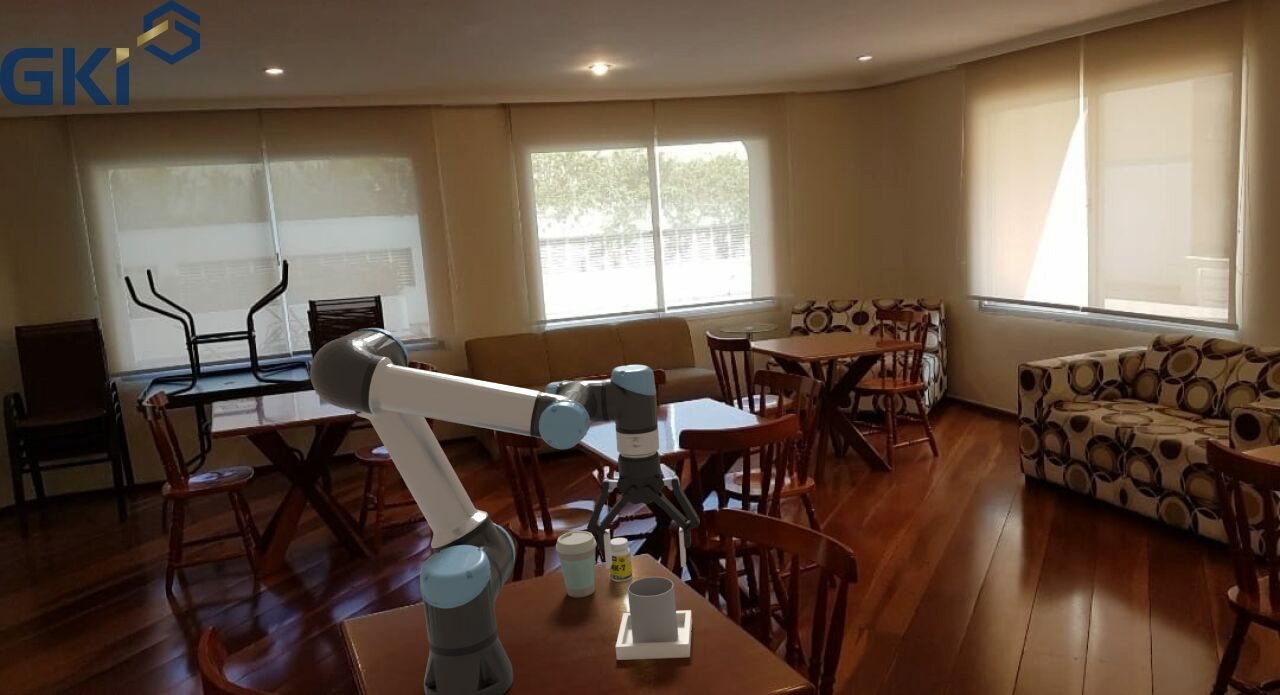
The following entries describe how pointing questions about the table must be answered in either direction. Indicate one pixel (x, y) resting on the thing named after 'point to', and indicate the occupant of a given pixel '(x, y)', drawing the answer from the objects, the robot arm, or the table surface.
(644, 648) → the tray
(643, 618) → the cup
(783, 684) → the table surface
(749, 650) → the table surface
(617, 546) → the supplement bottle
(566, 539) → the coffee cup
